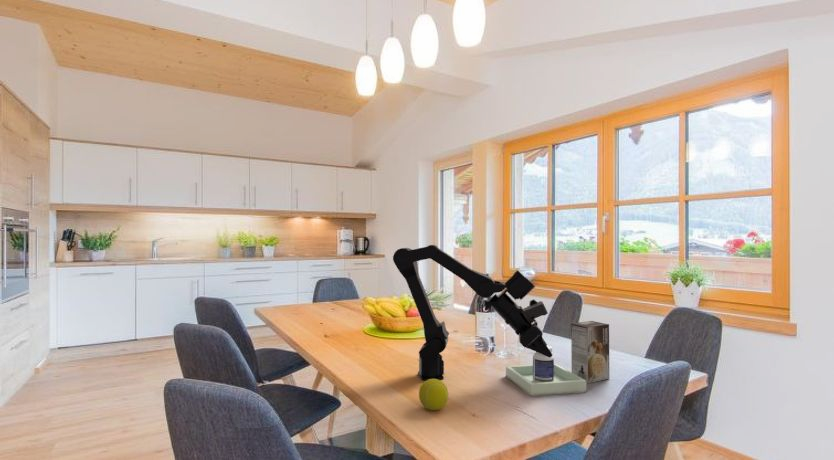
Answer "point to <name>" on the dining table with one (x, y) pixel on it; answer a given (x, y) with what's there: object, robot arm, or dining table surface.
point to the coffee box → (590, 350)
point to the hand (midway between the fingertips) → (549, 351)
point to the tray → (561, 384)
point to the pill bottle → (543, 367)
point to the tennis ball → (433, 394)
